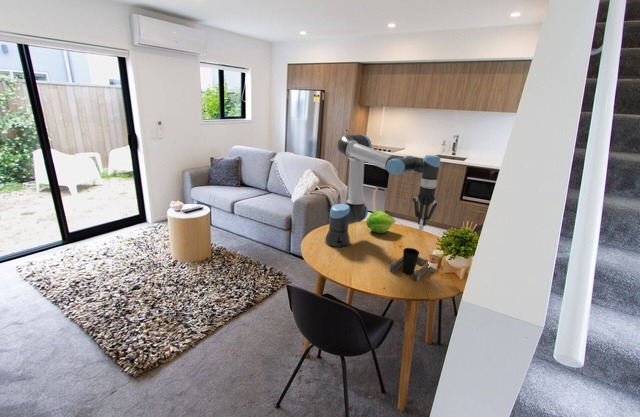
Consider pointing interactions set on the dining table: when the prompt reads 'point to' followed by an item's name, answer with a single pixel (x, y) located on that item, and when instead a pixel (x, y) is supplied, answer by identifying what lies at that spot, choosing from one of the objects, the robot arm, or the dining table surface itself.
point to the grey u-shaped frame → (418, 274)
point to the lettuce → (379, 222)
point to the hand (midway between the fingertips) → (420, 230)
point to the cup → (409, 260)
